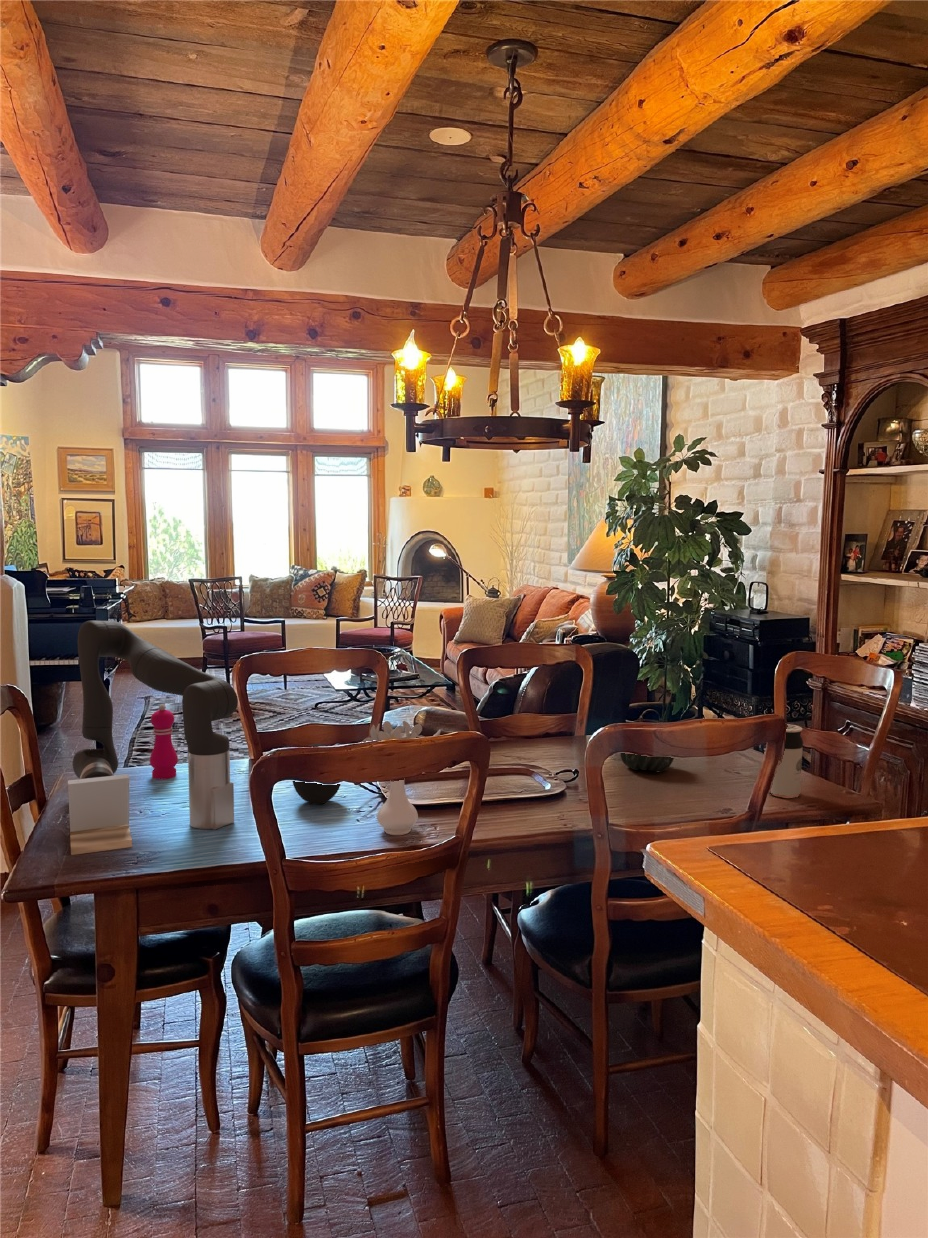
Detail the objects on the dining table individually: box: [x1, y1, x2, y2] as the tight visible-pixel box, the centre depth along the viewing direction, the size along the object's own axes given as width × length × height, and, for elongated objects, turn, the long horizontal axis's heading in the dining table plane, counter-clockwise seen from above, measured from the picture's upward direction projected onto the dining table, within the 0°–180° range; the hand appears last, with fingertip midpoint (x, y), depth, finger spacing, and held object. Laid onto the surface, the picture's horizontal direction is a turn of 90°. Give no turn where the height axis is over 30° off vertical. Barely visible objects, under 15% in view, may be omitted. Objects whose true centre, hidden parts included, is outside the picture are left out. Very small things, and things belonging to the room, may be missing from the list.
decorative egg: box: [292, 743, 342, 805], centre depth 217 cm, size 12×12×15 cm
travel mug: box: [771, 723, 804, 796], centre depth 228 cm, size 8×8×18 cm
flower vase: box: [360, 720, 442, 836], centre depth 199 cm, size 13×18×25 cm
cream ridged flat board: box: [69, 823, 133, 856], centre depth 195 cm, size 20×12×2 cm, turn 25°
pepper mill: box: [149, 703, 179, 780], centre depth 238 cm, size 7×7×20 cm
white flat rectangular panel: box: [67, 773, 130, 833], centre depth 190 cm, size 1×12×14 cm, turn 115°
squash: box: [619, 721, 675, 772], centre depth 250 cm, size 14×15×15 cm
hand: (99, 804), depth 191 cm, fingers closed
